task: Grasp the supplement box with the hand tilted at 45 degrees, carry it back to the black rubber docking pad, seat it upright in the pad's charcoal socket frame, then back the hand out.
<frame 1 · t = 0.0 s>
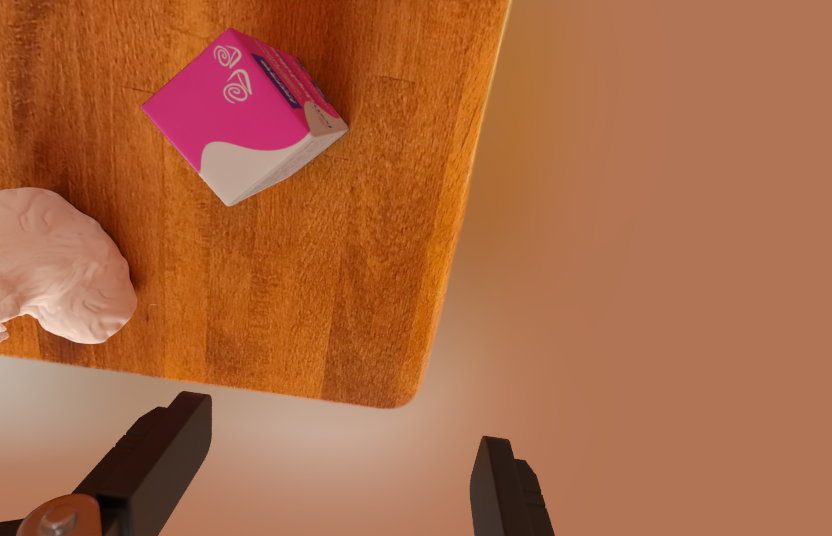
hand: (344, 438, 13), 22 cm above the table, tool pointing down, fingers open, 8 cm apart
supplement box: (295, 117, 31), on the table
pink lumpy shape: (86, 255, 34), on the table
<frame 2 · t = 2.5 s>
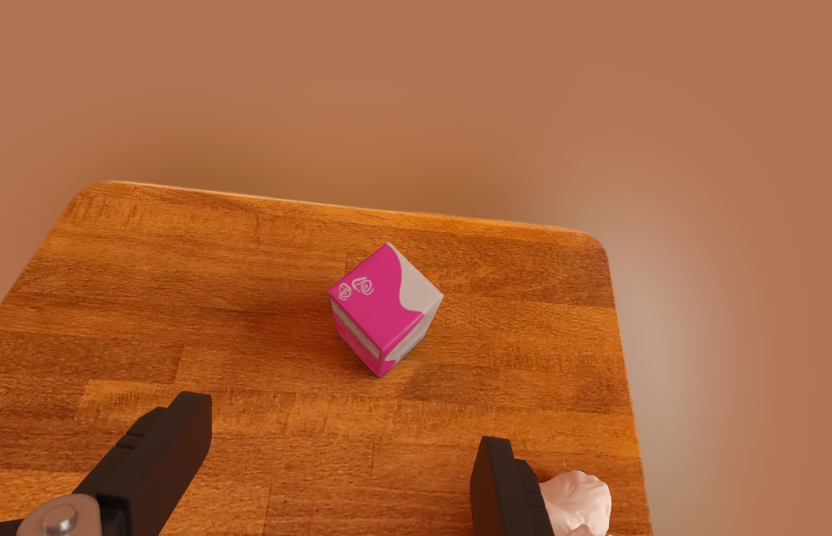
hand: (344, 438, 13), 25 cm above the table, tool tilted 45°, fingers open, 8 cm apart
supplement box: (380, 334, 40), on the table
pink lumpy shape: (530, 532, 35), on the table
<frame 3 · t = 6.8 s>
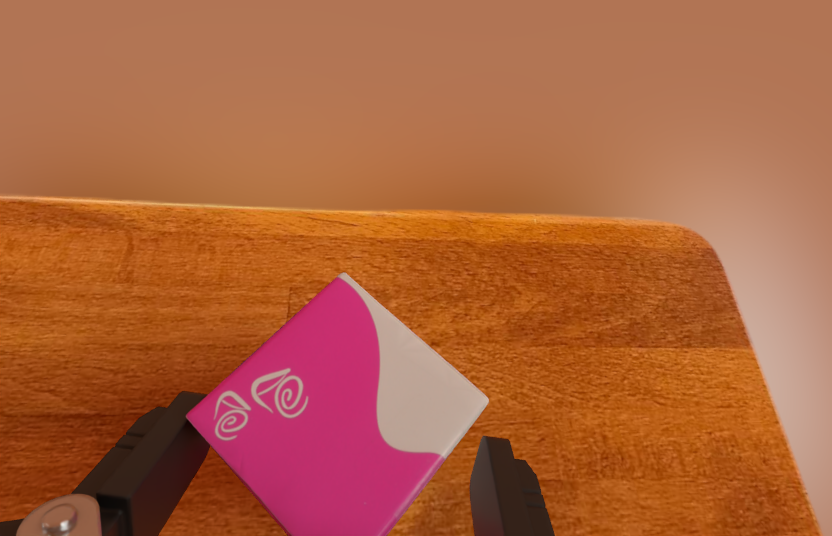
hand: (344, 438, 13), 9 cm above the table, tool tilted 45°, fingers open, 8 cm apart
supplement box: (355, 436, 22), on the table, touching gripper
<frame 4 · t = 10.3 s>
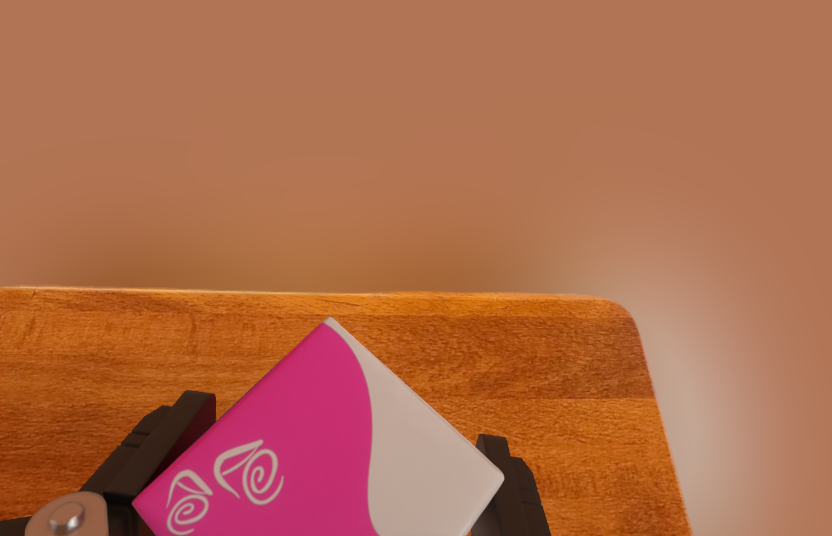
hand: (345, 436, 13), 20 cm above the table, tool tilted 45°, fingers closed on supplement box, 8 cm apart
supplement box: (348, 479, 20), point 12 cm above the table, touching gripper
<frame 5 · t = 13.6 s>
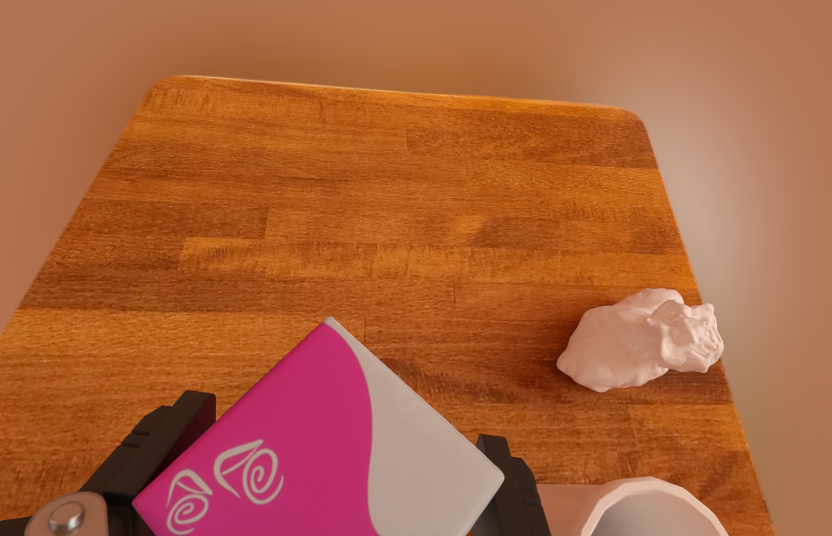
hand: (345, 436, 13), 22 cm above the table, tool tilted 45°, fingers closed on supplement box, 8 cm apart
cup: (540, 530, 32), on the table
supplement box: (348, 478, 20), point 14 cm above the table, touching gripper
pink lumpy shape: (606, 351, 38), on the table
when the fingers open (8 cm above the table, at t = 19.4 s): supplement box stays where it is, resting on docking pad.
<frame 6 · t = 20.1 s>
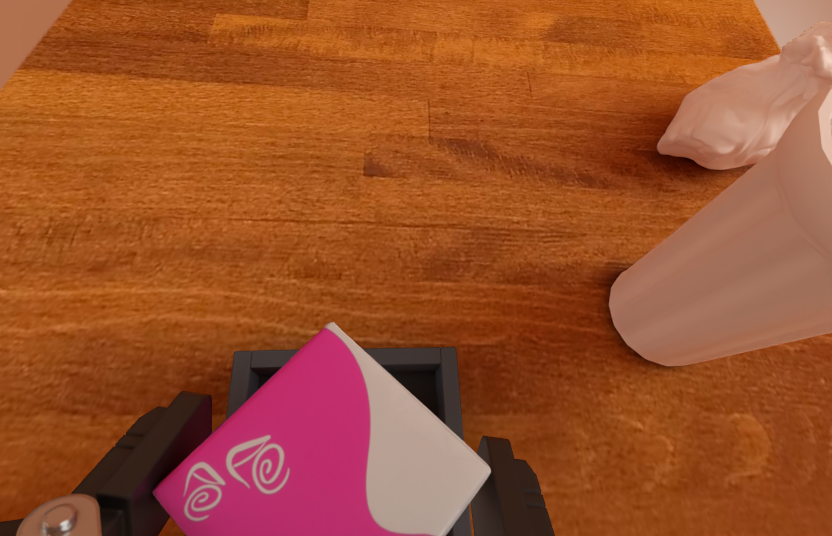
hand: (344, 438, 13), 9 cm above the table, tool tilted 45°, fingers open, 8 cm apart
cup: (653, 316, 26), on the table
supplement box: (348, 472, 21), resting on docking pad
pink lumpy shape: (708, 146, 32), on the table
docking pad: (348, 468, 21), on the table
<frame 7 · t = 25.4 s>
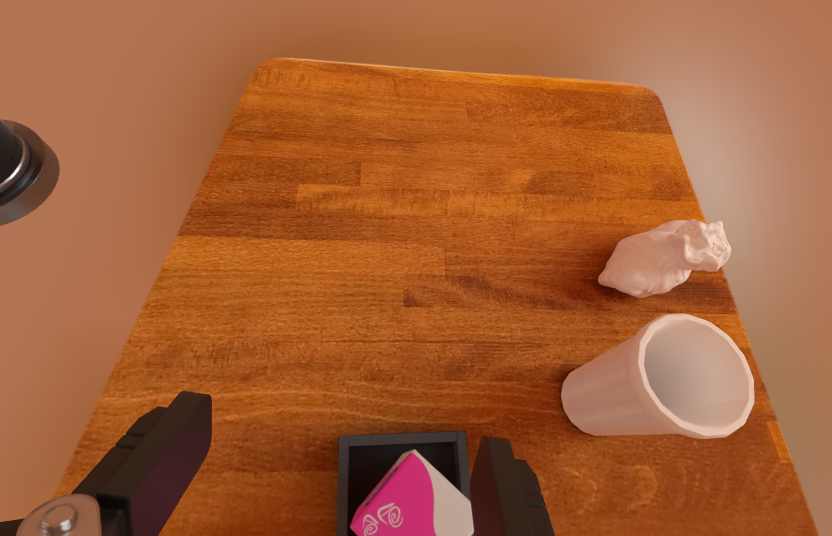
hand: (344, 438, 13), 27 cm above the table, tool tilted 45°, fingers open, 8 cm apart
cup: (590, 401, 41), on the table
supplement box: (403, 505, 36), resting on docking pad
pink lumpy shape: (635, 274, 47), on the table
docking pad: (403, 502, 36), on the table
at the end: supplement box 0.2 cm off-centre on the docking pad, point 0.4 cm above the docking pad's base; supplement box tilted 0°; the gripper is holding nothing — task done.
